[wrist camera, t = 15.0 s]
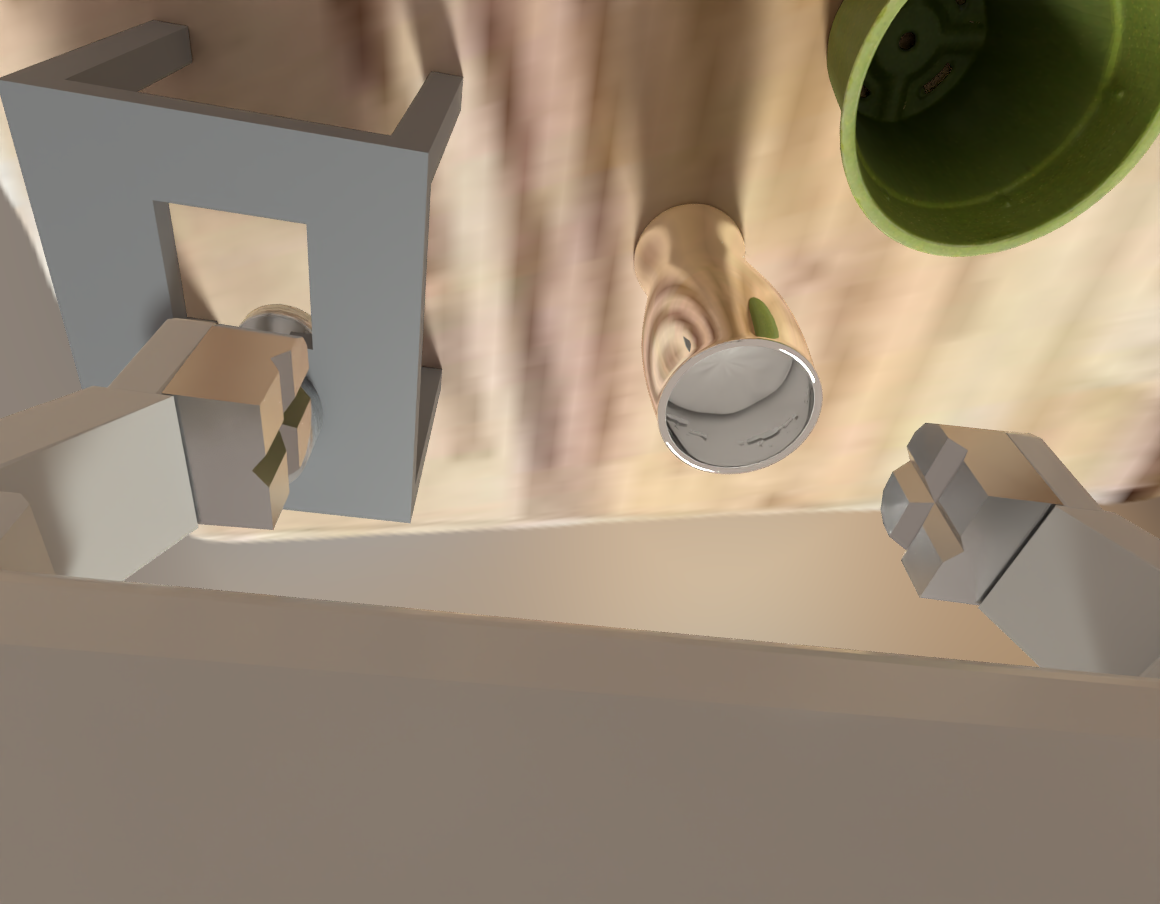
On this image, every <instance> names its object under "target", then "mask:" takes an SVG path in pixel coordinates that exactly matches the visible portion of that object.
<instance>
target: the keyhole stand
mask: <svg viewBox="0 0 1160 904" xmlns="http://www.w3.org/2000/svg"><path fill="white" fill-rule="evenodd" d="M190 63H192V55H191V47H190V40H189V32H188V26H183V25H177V24H172V23H166V22H161V21H155V20H152V21H149V22H147V23H144V24H141V25H139V26H136V27H133V28H131V29H128V30H125V31H123V32H120V33H117V34H115V35H112V36H109V37H107V38H104V39H101V40H99V41H96V42H94V43H91V44H88V45H86V46H83V47H80V48H78V49H75V50H72V51H70V52H67V53H64V54H62V55H59V56H56V57H54V58H51V59H48V60H46V61H43V62H40V63H38V64H35V65H32V66H30V67H27V68H25V69H22V70H19V71H17V72H14V73H11V74H9V75H6V76H3V77H1V78H0V96H1V99H2V103H3V107H4V110H5V114H6V117H7V121H8V125H9V128H10V132H11V135H12V139H13V142H14V146H15V150H16V153H17V157H18V160H19V164H20V168H21V171H22V175H23V178H24V182H25V186H26V189H27V193H28V196H29V200H30V204H31V207H32V211H33V214H34V218H35V222H36V225H37V229H38V232H39V236H40V239H41V243H42V247H43V250H44V254H45V257H46V261H47V265H48V268H49V272H50V275H51V279H52V283H53V286H54V290H55V293H56V297H57V301H58V304H59V308H60V311H61V314H62V319H63V322H64V326H65V329H66V333H67V336H68V340H69V343H70V347H71V351H72V354H73V358H74V362H75V365H76V369H77V372H78V376H79V379H80V383H81V387H82V390H83V389H85V388H88V387H91V386H98V387H108V386H109V385H110V384H111V383H112V382H113V380H114V379H115V378H116V377H117V376H118V375H119V374H120V372H121V371H122V370H123V369H124V368H125V367H126V366H127V364H128V363H129V362H130V361H131V360H132V359H133V358H134V356H135V355H136V354H137V353H138V352H139V351H140V350H141V348H142V347H143V346H144V345H145V344H146V343H147V342H148V340H149V339H150V338H151V337H152V336H153V335H154V334H155V333H156V331H157V330H158V329H159V328H160V327H161V326H162V325H163V323H164V322H165V321H166V320H168V319H173V318H180V319H189V320H197V321H205V322H214V323H216V324H217V325H218V323H217V321H212V320H205V319H198V318H191V317H187V313H186V307H185V301H184V295H183V288H182V282H181V276H180V270H179V264H178V258H177V252H176V246H175V240H174V234H173V228H172V221H171V215H170V209H169V203H175V204H181V205H187V206H194V207H200V208H207V209H213V210H220V211H226V212H232V213H239V214H245V215H252V216H258V217H265V218H271V219H277V220H284V221H290V222H297V223H303V224H307V242H308V262H309V282H310V301H311V321H312V334H306V333H299V332H292V331H291V333H290V334H289V335H294V336H301V337H303V338H304V340H305V342H306V344H307V351H308V363H309V369H308V371H307V374H306V377H307V378H308V380H309V381H310V382H311V383H312V385H313V386H314V388H315V390H316V391H317V393H318V396H319V398H320V400H321V404H322V408H323V423H322V428H321V430H320V433H319V435H318V437H317V440H316V442H315V444H314V447H313V449H312V452H311V454H310V456H309V459H308V461H307V463H306V466H305V468H304V470H303V471H302V473H301V474H300V475H299V476H298V477H297V478H296V479H295V480H294V481H293V482H291V483H290V484H289V495H288V497H287V500H286V502H285V504H284V506H283V509H285V510H294V511H303V512H313V513H322V514H331V515H340V516H349V517H358V518H368V519H377V520H386V521H395V522H404V523H410V522H411V518H412V514H413V509H414V505H415V500H416V496H417V492H418V487H419V483H420V478H421V474H422V469H423V465H424V461H425V456H426V452H427V447H428V443H429V439H430V434H431V430H432V425H433V421H434V416H435V412H436V408H437V403H438V399H439V394H440V390H441V377H442V369H435V368H428V367H421V364H422V345H423V326H424V307H425V288H426V269H427V249H428V230H429V211H430V192H431V183H432V180H433V178H434V175H435V173H436V170H437V168H438V165H439V163H440V160H441V158H442V155H443V153H444V151H445V148H446V146H447V143H448V141H449V138H450V136H451V133H452V131H453V128H454V126H455V123H456V121H457V118H458V116H459V113H460V111H461V100H462V86H463V77H460V76H454V75H449V74H443V73H438V72H433V71H431V73H430V74H429V76H428V77H427V79H426V81H425V82H424V84H423V85H422V87H421V89H420V90H419V92H418V93H417V95H416V97H415V98H414V100H413V101H412V103H411V105H410V106H409V108H408V109H407V111H406V113H405V114H404V116H403V117H402V119H401V121H400V122H399V124H398V125H397V127H396V129H395V130H394V132H393V133H392V135H391V136H389V135H383V134H378V133H372V132H366V131H360V130H354V129H349V128H343V127H337V126H331V125H325V124H320V123H314V122H308V121H302V120H296V119H290V118H285V117H279V116H273V115H267V114H261V113H256V112H250V111H244V110H238V109H232V108H227V107H221V106H215V105H209V104H203V103H198V102H192V101H186V100H180V99H174V98H169V97H163V96H157V95H151V94H145V93H140V92H138V91H140V90H142V89H144V88H145V87H147V86H149V85H151V84H153V83H155V82H157V81H159V80H160V79H162V78H164V77H166V76H168V75H170V74H172V73H174V72H175V71H177V70H179V69H181V68H183V67H185V66H187V65H189V64H190Z"/></svg>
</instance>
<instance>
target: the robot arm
mask: <svg viewBox="0 0 1160 904" xmlns="http://www.w3.org/2000/svg"><path fill="white" fill-rule="evenodd" d="M308 369H309V363H308V351H307V344H306V342H305V340H304V338H303V337H301V336H294V335H288V334H281V333H275V332H269V331H262V330H256V329H249V328H243V327H236V326H230V325H223V324H218V325H217V324H216V323H214V322H205V321H197V320H189V319H180V318H173V319H168V320H166V321H165V322H164V323H163V325H162V326H161V327H160V328H159V329H158V330H157V331H156V333H155V334H154V335H153V336H152V337H151V338H150V339H149V340H148V342H147V343H146V344H145V345H144V346H143V347H142V348H141V350H140V351H139V352H138V353H137V354H136V355H135V356H134V358H133V359H132V360H131V361H130V362H129V363H128V364H127V366H126V367H125V368H124V369H123V370H122V371H121V372H120V374H119V375H118V376H117V377H116V378H115V379H114V380H113V382H112V383H111V384H110V385H109V386H108V387H98V386H91V387H88V388H85V389H83V390H80V391H77V392H74V393H72V394H69V395H66V396H63V397H60V398H57V399H55V400H52V401H49V402H46V403H43V404H40V405H37V406H35V407H32V408H29V409H26V410H24V411H21V412H18V413H15V414H12V415H9V416H6V417H3V418H1V419H0V904H1160V539H1158V538H1157V537H1155V536H1153V535H1151V534H1150V533H1148V532H1146V531H1145V530H1143V529H1141V528H1140V527H1138V526H1136V525H1135V524H1133V523H1131V522H1130V521H1128V520H1126V519H1125V518H1123V517H1121V516H1120V515H1118V514H1116V513H1114V512H1107V511H1103V510H1102V508H1101V507H1100V506H1099V505H1098V504H1097V503H1096V501H1095V500H1094V499H1093V498H1092V497H1091V496H1090V494H1089V493H1088V492H1087V491H1086V490H1085V489H1084V487H1083V486H1082V485H1081V484H1080V483H1079V482H1078V481H1077V479H1076V478H1075V477H1074V476H1073V475H1072V474H1071V472H1070V471H1069V470H1068V469H1067V468H1066V467H1065V465H1064V464H1063V463H1062V462H1061V461H1060V460H1059V458H1058V457H1057V456H1056V455H1055V454H1054V453H1053V451H1052V450H1051V449H1050V448H1049V447H1048V446H1047V444H1046V443H1045V442H1044V441H1043V440H1042V439H1041V438H1039V437H1037V436H1035V435H1032V434H1030V433H1019V432H1009V431H998V430H988V429H979V428H969V427H960V426H951V425H942V424H932V423H925V424H924V425H923V426H921V427H920V428H919V429H918V430H917V431H916V432H915V433H914V435H913V437H912V439H911V440H910V442H909V444H908V445H907V450H908V454H909V458H910V461H909V462H907V463H906V464H904V465H902V466H901V467H899V468H898V469H896V470H895V471H893V472H892V474H891V476H890V478H889V480H888V482H887V484H886V486H885V488H884V490H883V497H882V504H881V513H882V519H883V524H884V526H885V528H886V530H887V533H888V535H889V537H891V538H892V539H893V540H894V541H896V542H897V543H898V544H899V545H901V546H902V547H903V548H904V549H905V550H906V551H905V553H904V555H903V558H902V560H901V561H902V563H903V565H904V567H905V569H906V571H907V573H908V575H909V577H910V579H911V581H912V583H913V585H914V587H915V589H916V591H917V593H918V595H919V597H921V598H928V599H936V600H943V601H951V602H959V603H966V604H973V605H980V606H979V609H980V610H981V611H982V612H983V613H984V614H985V615H986V616H987V617H988V618H989V619H990V620H991V621H993V622H994V623H995V624H996V625H997V626H998V627H999V628H1000V629H1001V630H1002V631H1003V632H1004V633H1005V634H1006V635H1007V636H1008V637H1009V638H1010V639H1011V640H1012V641H1013V642H1014V643H1016V644H1017V645H1018V646H1019V647H1020V648H1021V649H1022V650H1023V651H1024V652H1025V653H1026V654H1027V655H1028V656H1029V657H1030V658H1031V659H1032V660H1033V661H1034V662H1035V663H1036V664H1038V665H1039V666H1040V667H1031V666H1020V665H1009V664H999V663H989V662H978V661H967V660H957V659H945V658H936V657H925V656H914V655H904V654H893V653H883V652H872V651H860V650H851V649H840V648H829V647H819V646H807V645H797V644H786V643H774V642H765V641H754V640H743V639H732V638H721V637H710V636H699V635H689V634H679V633H668V632H657V631H647V630H636V629H626V628H615V627H604V626H593V625H583V624H572V623H562V622H551V621H541V620H530V619H519V618H509V617H498V616H487V615H477V614H466V613H455V612H445V611H434V610H424V609H413V608H402V607H392V606H381V605H370V604H360V603H349V602H339V601H328V600H318V599H317V600H316V599H307V598H296V597H286V596H275V595H265V594H254V593H243V592H232V591H222V590H221V591H220V590H212V589H201V588H190V587H180V586H169V585H158V584H147V583H137V582H127V581H124V580H125V579H126V578H128V577H129V576H131V575H132V574H134V573H135V572H136V571H138V570H139V569H141V568H142V567H143V566H145V565H146V564H147V563H149V562H150V561H152V560H153V559H154V558H156V557H157V556H159V555H160V554H162V553H163V552H165V551H166V550H167V549H168V548H170V547H172V546H173V545H174V544H176V543H177V542H178V541H180V540H181V539H183V538H184V537H186V536H187V535H189V534H190V533H191V532H193V531H194V530H196V529H197V528H198V524H205V525H218V526H231V527H243V528H256V529H269V530H273V529H274V527H275V525H276V522H277V520H278V518H279V516H280V513H281V511H282V509H283V506H284V504H285V502H286V500H287V497H288V495H289V479H288V475H290V474H292V473H294V472H295V471H297V470H299V469H300V467H301V465H302V462H303V460H304V457H305V455H306V451H307V446H308V441H309V436H310V430H311V398H310V397H309V396H308V394H307V393H306V392H305V391H304V390H303V388H302V387H301V384H302V382H303V380H304V378H305V376H306V374H307V371H308Z"/></svg>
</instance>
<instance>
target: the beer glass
mask: <svg viewBox="0 0 1160 904" xmlns="http://www.w3.org/2000/svg"><path fill="white" fill-rule="evenodd" d="M634 268H635V273H636V276H637V279H638V282H639V284H640V286H641V288H642V289H643V291H644V292H645V294H646V295H647V303H646V308H645V314H644V320H643V327H642V343H641V351H642V361H643V370H644V375H645V380H646V384H647V389H648V393H649V396H650V399H651V403H652V406H653V409H654V412H655V415H656V418H657V421H658V427H659V431H660V434H661V436H662V439H663V441H664V442H665V444H666V446H667V447H668V448H669V450H670V451H671V452H672V453H673V454H674V455H675V456H676V457H677V458H679V459H680V460H681V461H683V462H684V463H686V464H688V465H690V466H692V467H694V468H697V469H699V470H702V471H706V472H711V473H717V474H740V473H747V472H751V471H755V470H759V469H762V468H765V467H767V466H770V465H772V464H774V463H776V462H778V461H780V460H782V459H783V458H785V457H786V456H788V455H789V454H791V453H792V452H793V451H794V450H796V449H797V448H798V447H799V446H800V445H801V444H802V443H803V442H804V441H805V440H806V438H807V437H808V436H809V434H810V433H811V432H812V430H813V428H814V427H815V425H816V423H817V421H818V418H819V415H820V412H821V408H822V401H823V392H822V385H821V381H820V378H819V375H818V373H817V371H816V370H815V367H814V364H813V361H812V358H811V355H810V352H809V349H808V347H807V344H806V341H805V338H804V336H803V334H802V332H801V329H800V327H799V325H798V323H797V321H796V319H795V317H794V315H793V313H792V312H791V310H790V308H789V307H788V305H787V303H786V302H785V300H784V299H783V297H782V296H781V295H780V294H779V293H778V291H777V290H776V289H775V288H774V287H773V286H772V285H771V284H770V282H769V281H768V280H767V279H766V278H765V277H763V276H762V275H761V274H760V273H759V272H758V271H757V270H756V269H755V268H754V267H752V266H751V265H750V264H749V263H748V262H747V261H746V260H745V246H744V241H743V237H742V235H741V232H740V230H739V228H738V226H737V225H736V224H735V222H734V221H733V220H732V219H731V218H730V217H729V216H728V215H727V214H725V213H724V212H722V211H721V210H719V209H717V208H715V207H712V206H709V205H705V204H696V203H694V204H683V205H679V206H676V207H673V208H670V209H668V210H666V211H664V212H663V213H661V214H660V215H658V216H657V217H656V218H654V219H653V220H652V221H651V222H650V223H649V224H648V225H647V227H646V228H645V229H644V231H643V232H642V234H641V236H640V238H639V240H638V243H637V246H636V249H635V254H634Z"/></svg>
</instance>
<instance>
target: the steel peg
mask: <svg viewBox="0 0 1160 904" xmlns="http://www.w3.org/2000/svg"><path fill="white" fill-rule="evenodd" d="M239 327H243V328H249V329H256V330H262V331H269V332H275V333H281V334H288V335H289V334H290V333H291V331H292V332H299V333H306V334H312V321H311V315H309V314H308V313H306V312H304V311H302V310H300V309H298V308H295V307H292V306H288V305H281V304H271V305H265V306H261V307H259V308H257V309H255V310H253V311H252V312H250V313H249V314H248V315H247V316H246V318H245V319H244V320H243V322H242V323H241V325H240V326H239ZM301 387H302V388H303V390H304V391H305V392H306V393H307V394H308V396H309V397H310V398H311V430H310V436H309V441H308V446H307V451H306V455H305V457H304V460H303V462H302V465H301V467H300V469H299V470H297V471H295V472H294V473H292V474H290V475H288V479H289V484H290V483H291V482H293V481H294V480H295V479H296V478H297V477H298V476H299V475H300V474H301V473H302V471H303V470H304V468H305V466H306V463H307V461H308V459H309V456H310V454H311V452H312V449H313V447H314V444H315V442H316V440H317V437H318V435H319V433H320V430H321V428H322V423H323V408H322V404H321V400H320V398H319V396H318V393H317V391H316V390H315V388H314V386H313V385H312V383H311V382H310V381H309V380H308V378H307V377H306V376H305V378H304V380H303V382H302V384H301Z"/></svg>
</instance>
